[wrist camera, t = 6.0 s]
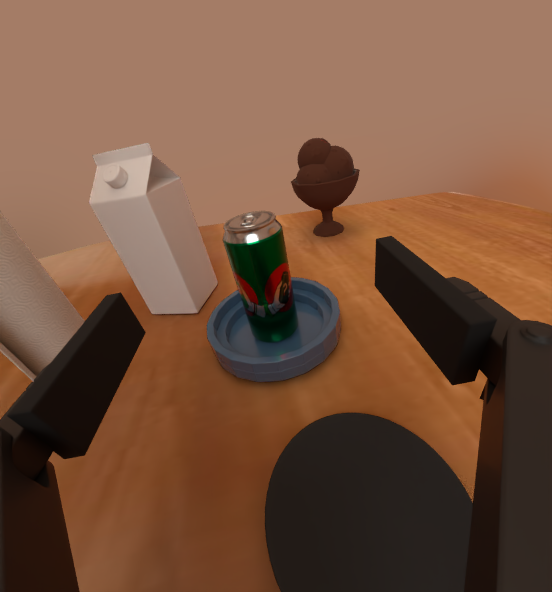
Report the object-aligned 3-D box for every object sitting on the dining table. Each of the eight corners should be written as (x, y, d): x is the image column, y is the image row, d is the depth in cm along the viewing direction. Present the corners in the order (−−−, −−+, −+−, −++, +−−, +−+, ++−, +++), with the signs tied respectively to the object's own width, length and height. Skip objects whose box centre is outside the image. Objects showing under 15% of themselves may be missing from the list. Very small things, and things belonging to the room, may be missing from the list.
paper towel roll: (86, 348, 32) (-75, 153, 20) (122, 353, 30) (-33, 139, 18) (26, 400, 27) (-242, 175, 15) (65, 411, 25) (-209, 159, 13)
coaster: (454, 819, 8) (459, 826, 8) (228, 536, 15) (224, 531, 14) (504, 487, 14) (508, 481, 14) (328, 393, 21) (328, 386, 21)
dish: (287, 412, 20) (281, 390, 19) (190, 348, 29) (181, 329, 27) (363, 314, 28) (363, 293, 27) (270, 286, 36) (266, 268, 35)
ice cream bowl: (310, 248, 44) (298, 146, 35) (292, 228, 53) (280, 143, 44) (370, 233, 44) (372, 129, 36) (342, 215, 54) (339, 129, 45)
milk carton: (177, 286, 41) (115, 150, 31) (218, 284, 39) (166, 138, 29) (151, 315, 36) (64, 161, 25) (198, 314, 34) (124, 147, 23)
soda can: (299, 312, 30) (281, 205, 23) (299, 344, 26) (277, 225, 19) (255, 316, 31) (226, 214, 24) (249, 348, 26) (211, 236, 20)
